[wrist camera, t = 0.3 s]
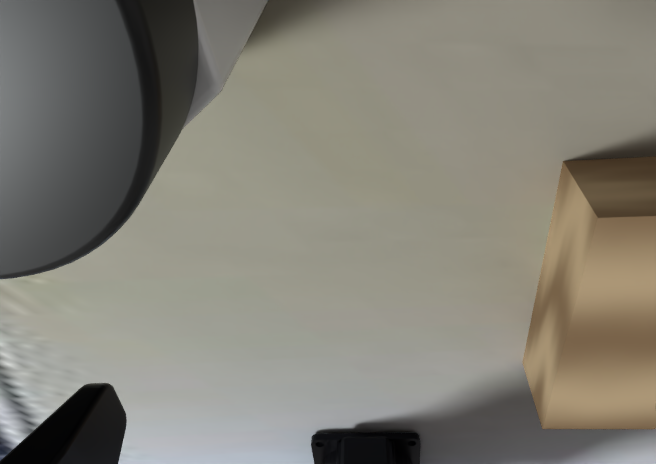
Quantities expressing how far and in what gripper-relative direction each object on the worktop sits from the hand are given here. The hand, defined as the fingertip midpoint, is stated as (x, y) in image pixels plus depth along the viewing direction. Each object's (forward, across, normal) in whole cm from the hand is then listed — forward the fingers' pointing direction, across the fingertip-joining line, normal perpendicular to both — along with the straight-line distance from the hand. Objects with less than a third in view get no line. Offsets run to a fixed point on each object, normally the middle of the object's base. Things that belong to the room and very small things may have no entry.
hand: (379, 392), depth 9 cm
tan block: (+14, -12, +9) cm, 20 cm away
